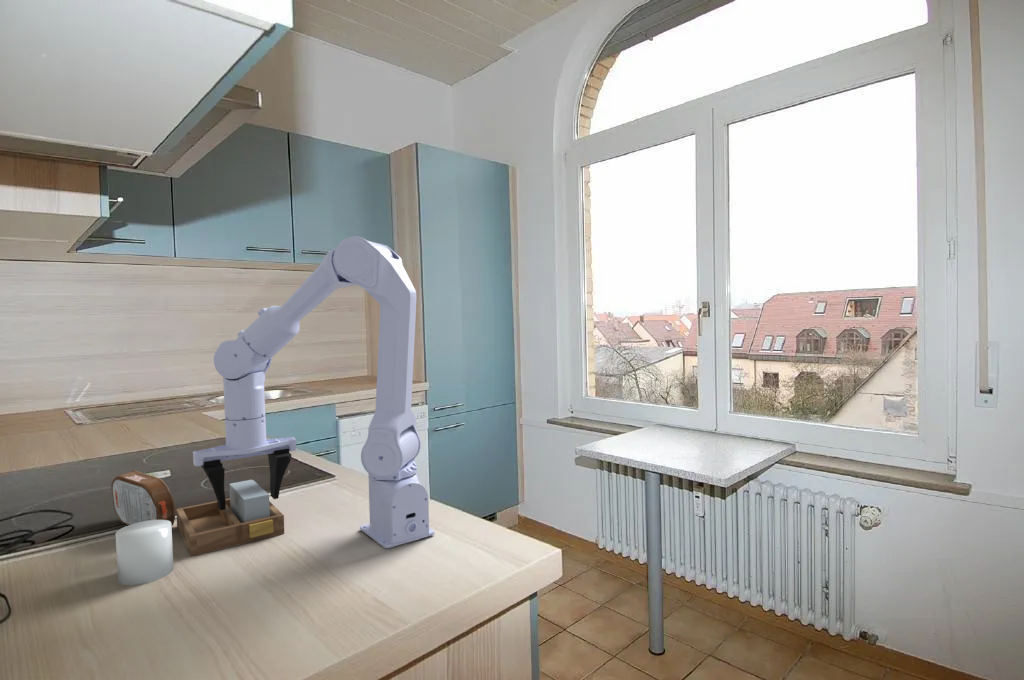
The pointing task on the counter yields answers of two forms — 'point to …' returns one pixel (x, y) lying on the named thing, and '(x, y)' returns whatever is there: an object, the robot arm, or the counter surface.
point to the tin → (142, 498)
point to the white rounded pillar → (144, 552)
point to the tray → (223, 527)
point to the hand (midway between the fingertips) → (249, 502)
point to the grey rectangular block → (248, 501)
